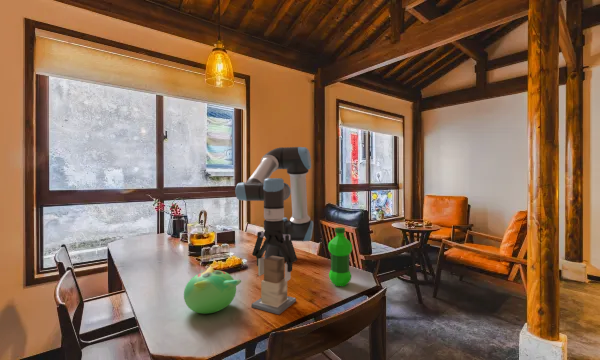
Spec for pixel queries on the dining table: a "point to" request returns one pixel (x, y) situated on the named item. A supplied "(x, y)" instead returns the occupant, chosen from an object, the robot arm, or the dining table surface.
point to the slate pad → (274, 309)
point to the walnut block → (274, 269)
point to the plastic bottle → (340, 258)
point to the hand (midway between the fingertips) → (274, 277)
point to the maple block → (273, 292)
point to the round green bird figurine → (210, 291)
